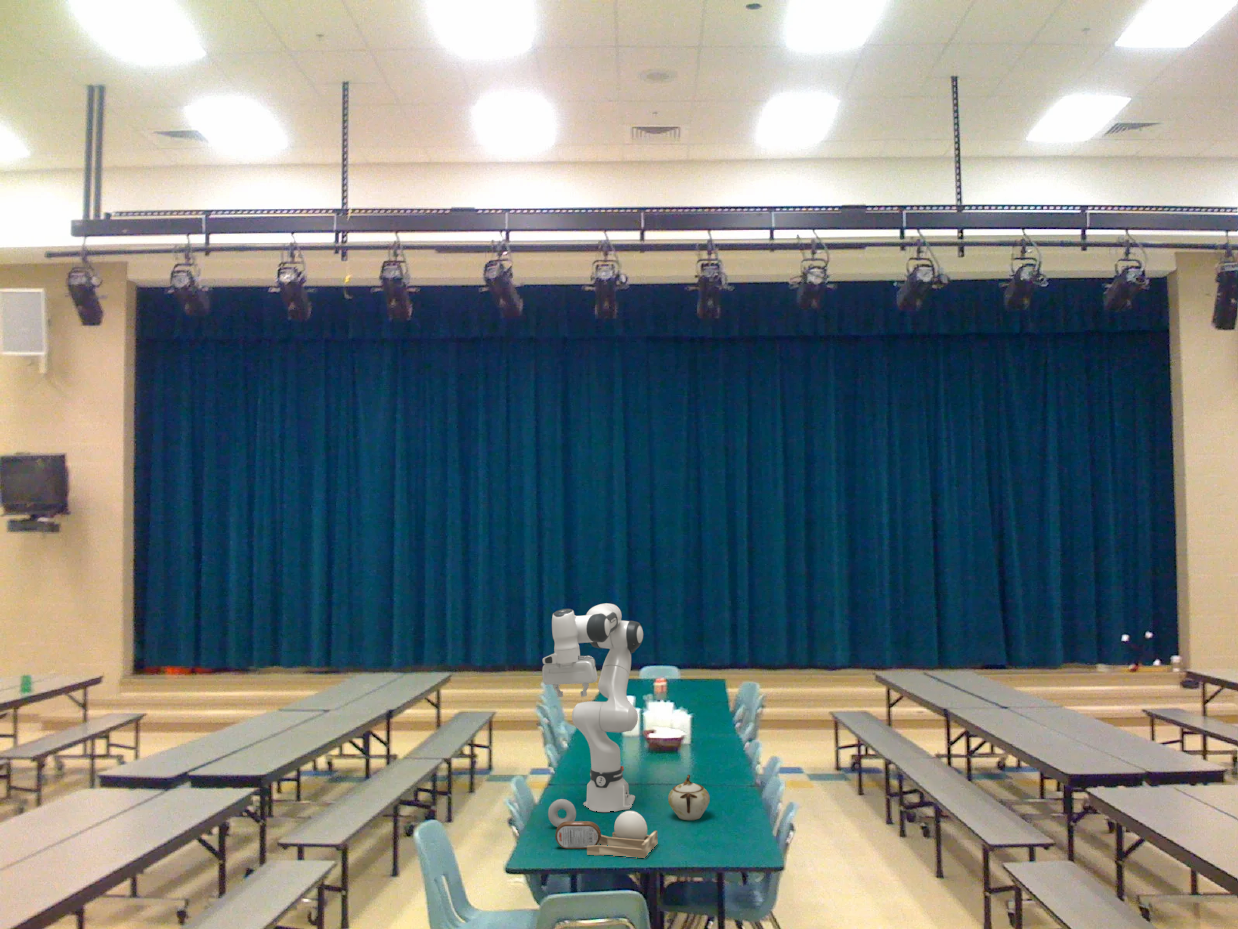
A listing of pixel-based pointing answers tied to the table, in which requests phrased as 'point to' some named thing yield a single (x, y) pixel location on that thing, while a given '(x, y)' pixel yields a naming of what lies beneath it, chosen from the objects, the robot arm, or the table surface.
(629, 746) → the table surface
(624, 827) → the racked plate
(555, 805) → the donut
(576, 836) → the tin
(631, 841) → the rack
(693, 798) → the sugar bowl
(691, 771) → the table surface
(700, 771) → the table surface
